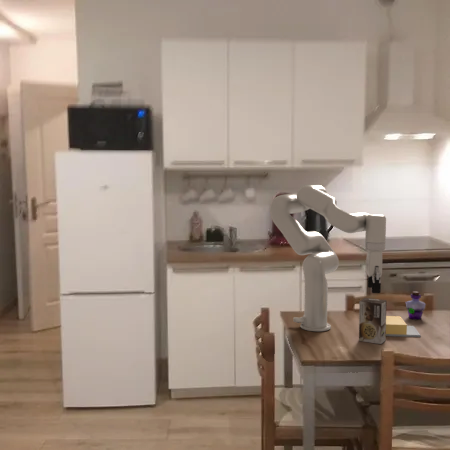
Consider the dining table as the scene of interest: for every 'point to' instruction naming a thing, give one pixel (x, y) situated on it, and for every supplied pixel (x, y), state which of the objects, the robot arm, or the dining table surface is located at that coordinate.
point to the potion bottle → (415, 306)
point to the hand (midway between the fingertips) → (373, 290)
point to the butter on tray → (399, 327)
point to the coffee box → (372, 320)
